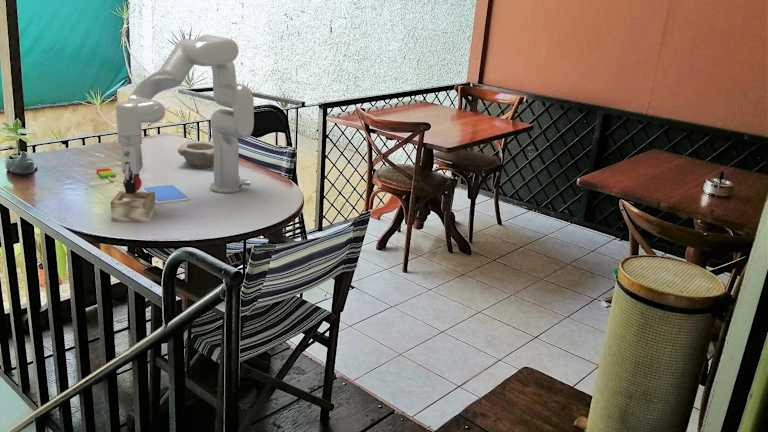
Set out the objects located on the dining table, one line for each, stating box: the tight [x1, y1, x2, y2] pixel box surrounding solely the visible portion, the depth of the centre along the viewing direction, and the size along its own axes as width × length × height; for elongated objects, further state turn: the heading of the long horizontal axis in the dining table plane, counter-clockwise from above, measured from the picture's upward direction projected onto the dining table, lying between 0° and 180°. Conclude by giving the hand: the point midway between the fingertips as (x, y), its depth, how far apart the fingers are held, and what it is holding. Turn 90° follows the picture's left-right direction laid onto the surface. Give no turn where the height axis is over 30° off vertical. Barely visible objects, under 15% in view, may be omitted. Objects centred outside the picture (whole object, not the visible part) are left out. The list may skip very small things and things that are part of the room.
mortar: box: [177, 140, 214, 169], centre depth 298 cm, size 17×17×9 cm
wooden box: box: [110, 190, 157, 223], centre depth 237 cm, size 12×12×7 cm
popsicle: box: [96, 168, 117, 182], centre depth 276 cm, size 6×15×2 cm, turn 34°
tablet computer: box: [141, 184, 191, 205], centre depth 261 cm, size 19×13×1 cm, turn 35°
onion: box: [122, 172, 142, 192], centre depth 234 cm, size 6×6×8 cm
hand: (132, 189), depth 235 cm, fingers closed on onion, 5 cm apart
